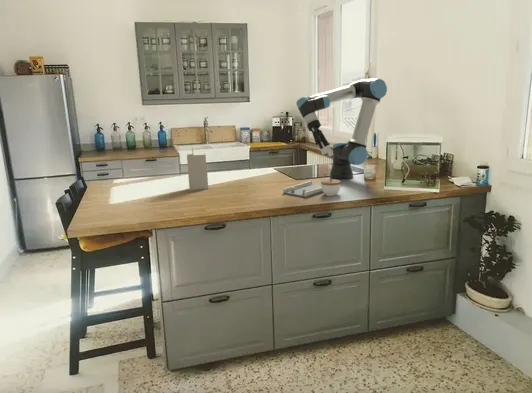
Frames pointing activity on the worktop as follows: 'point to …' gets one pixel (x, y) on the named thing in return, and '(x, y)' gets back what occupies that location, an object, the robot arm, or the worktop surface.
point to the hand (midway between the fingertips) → (328, 154)
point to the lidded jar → (330, 186)
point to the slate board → (300, 192)
